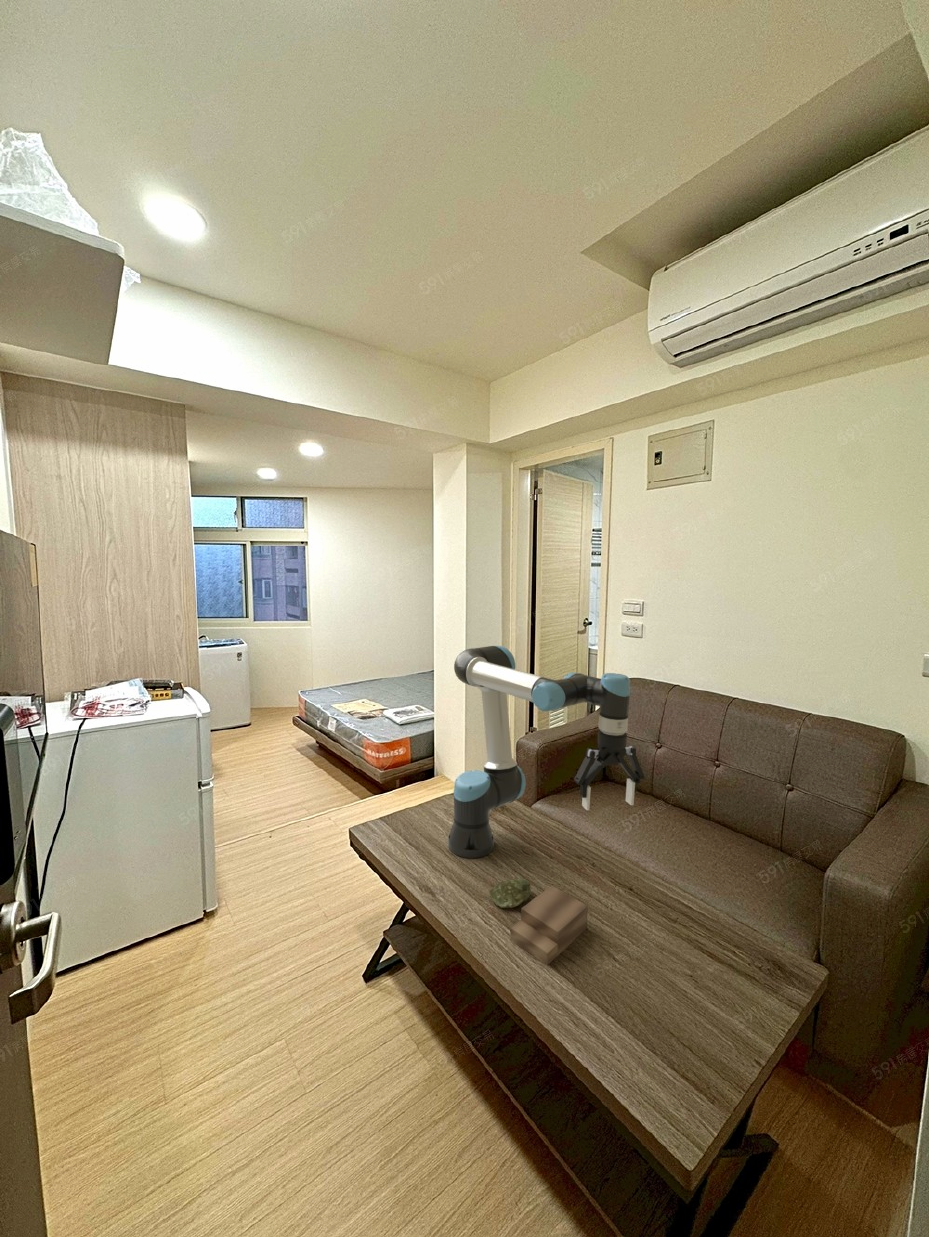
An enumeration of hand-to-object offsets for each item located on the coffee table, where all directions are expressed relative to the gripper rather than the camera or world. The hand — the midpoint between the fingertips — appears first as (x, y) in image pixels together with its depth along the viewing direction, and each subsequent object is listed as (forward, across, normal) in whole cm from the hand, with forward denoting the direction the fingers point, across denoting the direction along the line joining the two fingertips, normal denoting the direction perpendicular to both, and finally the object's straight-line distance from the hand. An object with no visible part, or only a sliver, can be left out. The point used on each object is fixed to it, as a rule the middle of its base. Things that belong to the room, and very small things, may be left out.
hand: (607, 805), depth 132 cm
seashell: (+27, -26, +4) cm, 37 cm away
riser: (+26, -22, -11) cm, 35 cm away
